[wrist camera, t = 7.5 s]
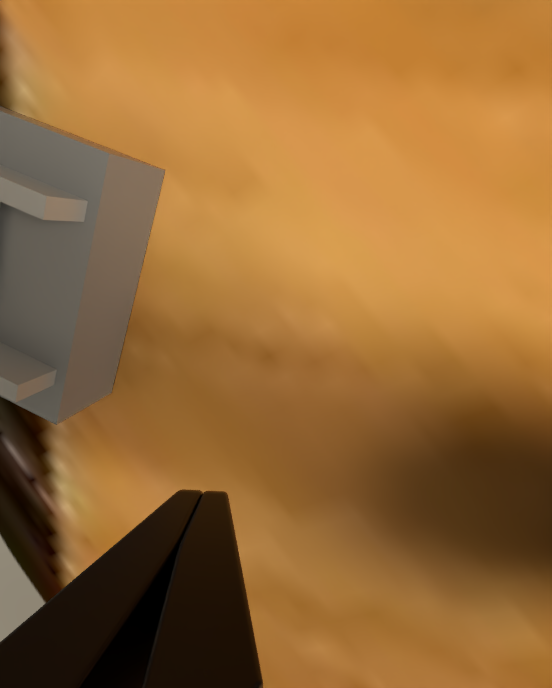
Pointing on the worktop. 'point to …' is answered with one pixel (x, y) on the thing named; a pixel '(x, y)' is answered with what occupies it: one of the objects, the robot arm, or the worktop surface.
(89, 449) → the worktop surface
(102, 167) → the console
